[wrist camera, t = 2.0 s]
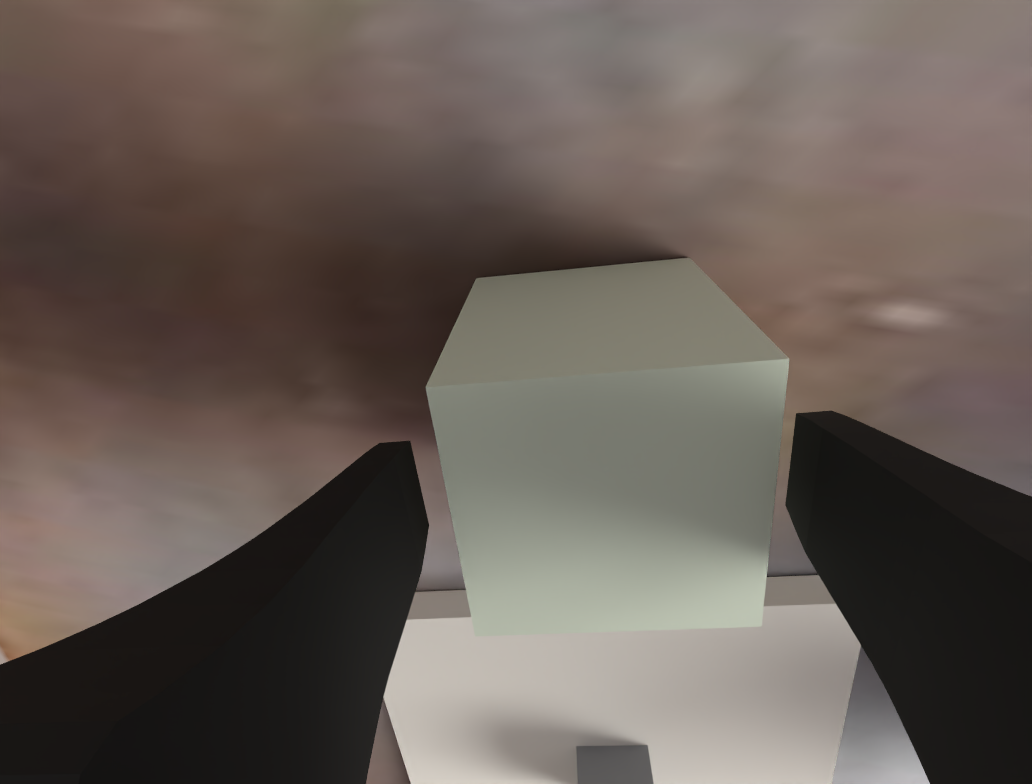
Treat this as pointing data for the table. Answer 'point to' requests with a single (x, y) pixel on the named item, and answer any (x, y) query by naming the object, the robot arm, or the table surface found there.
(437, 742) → the post board
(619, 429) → the pale green block
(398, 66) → the table surface
